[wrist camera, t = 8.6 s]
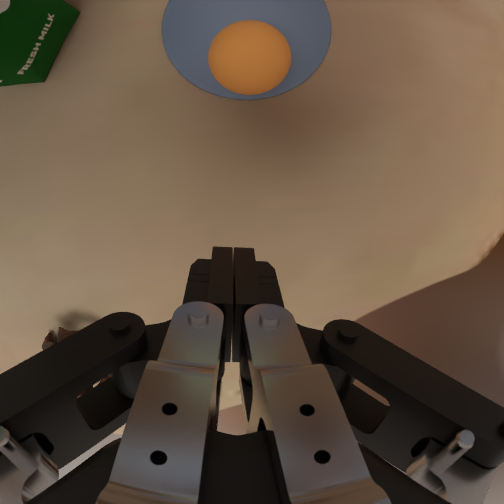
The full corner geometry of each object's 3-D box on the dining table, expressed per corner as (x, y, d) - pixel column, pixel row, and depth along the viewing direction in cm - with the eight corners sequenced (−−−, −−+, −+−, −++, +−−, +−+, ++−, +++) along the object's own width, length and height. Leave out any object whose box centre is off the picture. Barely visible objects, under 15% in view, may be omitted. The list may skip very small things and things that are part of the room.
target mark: (156, 98, 20) (155, 98, 20) (172, -40, 15) (172, -41, 14) (324, 108, 21) (324, 108, 21) (333, -28, 16) (333, -29, 15)
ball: (212, 9, 16) (219, 66, 21) (194, 44, 14) (206, 110, 19) (293, 10, 15) (289, 69, 20) (294, 45, 13) (288, 113, 19)
